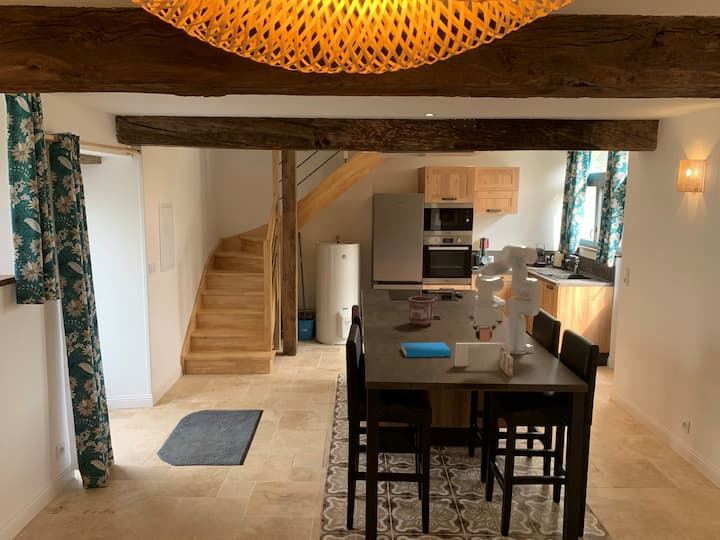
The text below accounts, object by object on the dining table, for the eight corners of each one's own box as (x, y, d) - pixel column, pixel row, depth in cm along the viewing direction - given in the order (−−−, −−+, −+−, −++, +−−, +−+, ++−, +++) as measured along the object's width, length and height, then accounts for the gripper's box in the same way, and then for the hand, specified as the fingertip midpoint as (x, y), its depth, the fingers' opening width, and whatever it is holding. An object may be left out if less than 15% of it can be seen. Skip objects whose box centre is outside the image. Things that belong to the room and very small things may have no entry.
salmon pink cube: (487, 338, 294) (487, 326, 293) (490, 341, 288) (490, 329, 287) (477, 338, 293) (477, 326, 293) (480, 341, 287) (480, 329, 287)
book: (401, 343, 331) (444, 341, 333) (401, 350, 332) (444, 349, 334) (406, 351, 314) (451, 349, 316) (406, 358, 315) (451, 357, 317)
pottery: (435, 328, 383) (436, 301, 381) (408, 327, 384) (409, 300, 381) (432, 322, 401) (433, 296, 399) (407, 321, 401) (407, 296, 399)
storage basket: (473, 314, 427) (474, 295, 425) (495, 314, 428) (495, 295, 426) (482, 322, 403) (483, 301, 401) (505, 321, 404) (506, 301, 402)
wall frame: (508, 365, 303) (509, 342, 301) (509, 366, 301) (510, 343, 299) (455, 365, 302) (455, 342, 300) (455, 366, 300) (456, 343, 298)
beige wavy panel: (499, 366, 300) (500, 348, 299) (502, 366, 300) (503, 348, 299) (508, 377, 283) (509, 358, 282) (512, 377, 283) (513, 358, 282)
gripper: (499, 301, 292) (498, 336, 294) (466, 301, 291) (465, 337, 294) (503, 304, 284) (502, 340, 287) (469, 304, 284) (468, 340, 287)
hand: (483, 338), depth 290 cm, fingers closed on salmon pink cube, 5 cm apart
